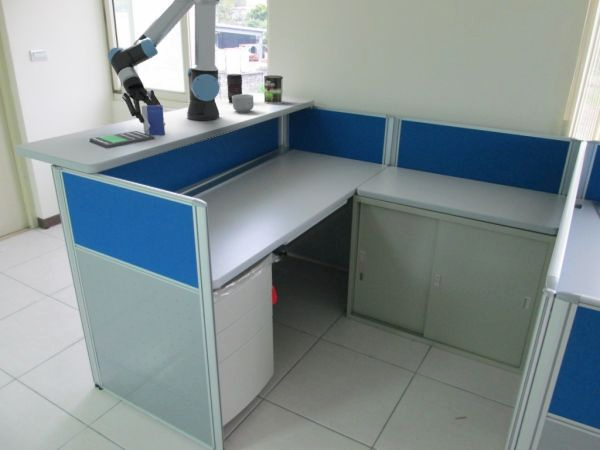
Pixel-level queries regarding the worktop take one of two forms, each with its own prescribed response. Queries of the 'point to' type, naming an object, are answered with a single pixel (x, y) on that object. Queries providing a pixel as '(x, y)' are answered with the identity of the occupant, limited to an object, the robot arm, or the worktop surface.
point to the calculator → (121, 139)
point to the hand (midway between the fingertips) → (156, 127)
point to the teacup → (242, 102)
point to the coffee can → (273, 89)
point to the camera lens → (234, 85)
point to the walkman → (154, 119)
